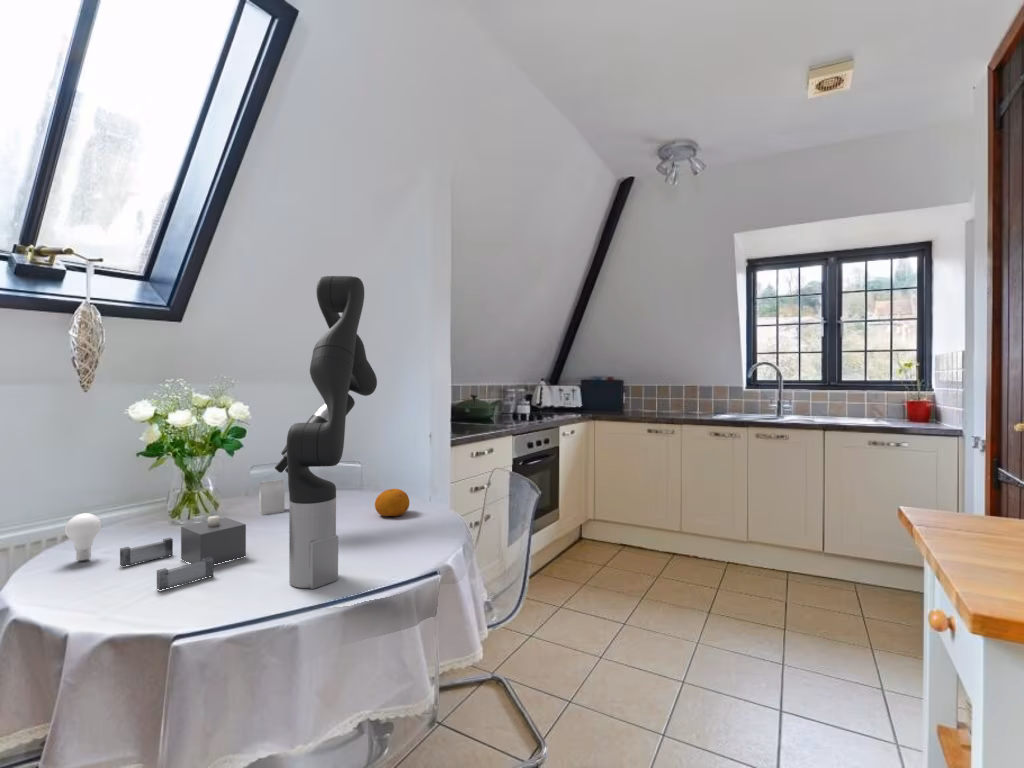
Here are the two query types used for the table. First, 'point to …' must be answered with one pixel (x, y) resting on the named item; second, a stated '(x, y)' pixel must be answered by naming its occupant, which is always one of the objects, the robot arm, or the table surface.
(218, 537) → the plug block
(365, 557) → the table surface
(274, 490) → the grey rectangular block
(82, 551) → the lightbulb
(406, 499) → the fruit
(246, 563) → the table surface
